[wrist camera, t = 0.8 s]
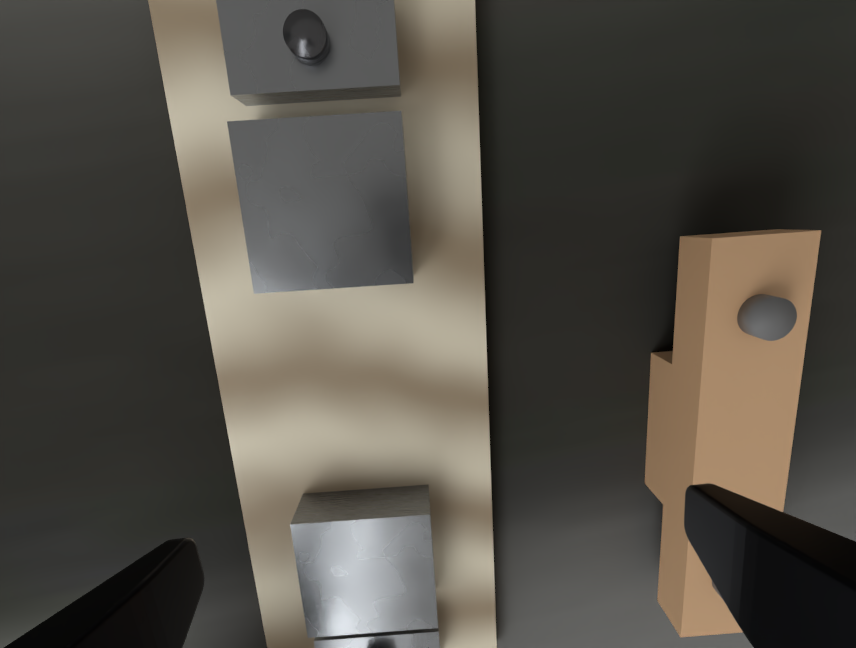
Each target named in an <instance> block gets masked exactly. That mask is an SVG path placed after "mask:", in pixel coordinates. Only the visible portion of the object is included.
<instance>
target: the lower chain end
mask: <svg viewBox="0 0 856 648" xmlns="http://www.w3.org/2000/svg"><path fill="white" fill-rule="evenodd" d="M290 528H291V534H292V540H293V547H294V553H295V560H296V566H297V572H298V579H299V585H300V592H301V598H302V604H303V611H304V617H305V624H306V630H307V636H308V638H312V637H315V639H314V645H315V648H440V639H439V625H438V610H437V598H436V582H435V568H434V554H433V540H432V525H431V511H430V497H429V485H415V486H401V487H387V488H373V489H359V490H345V491H331V492H317V493H304V494H303V495H302V497H301V499H300V502H299V504H298V507H297V509H296V511H295V514H294V516H293V519H292V521H291V524H290Z"/></svg>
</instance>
